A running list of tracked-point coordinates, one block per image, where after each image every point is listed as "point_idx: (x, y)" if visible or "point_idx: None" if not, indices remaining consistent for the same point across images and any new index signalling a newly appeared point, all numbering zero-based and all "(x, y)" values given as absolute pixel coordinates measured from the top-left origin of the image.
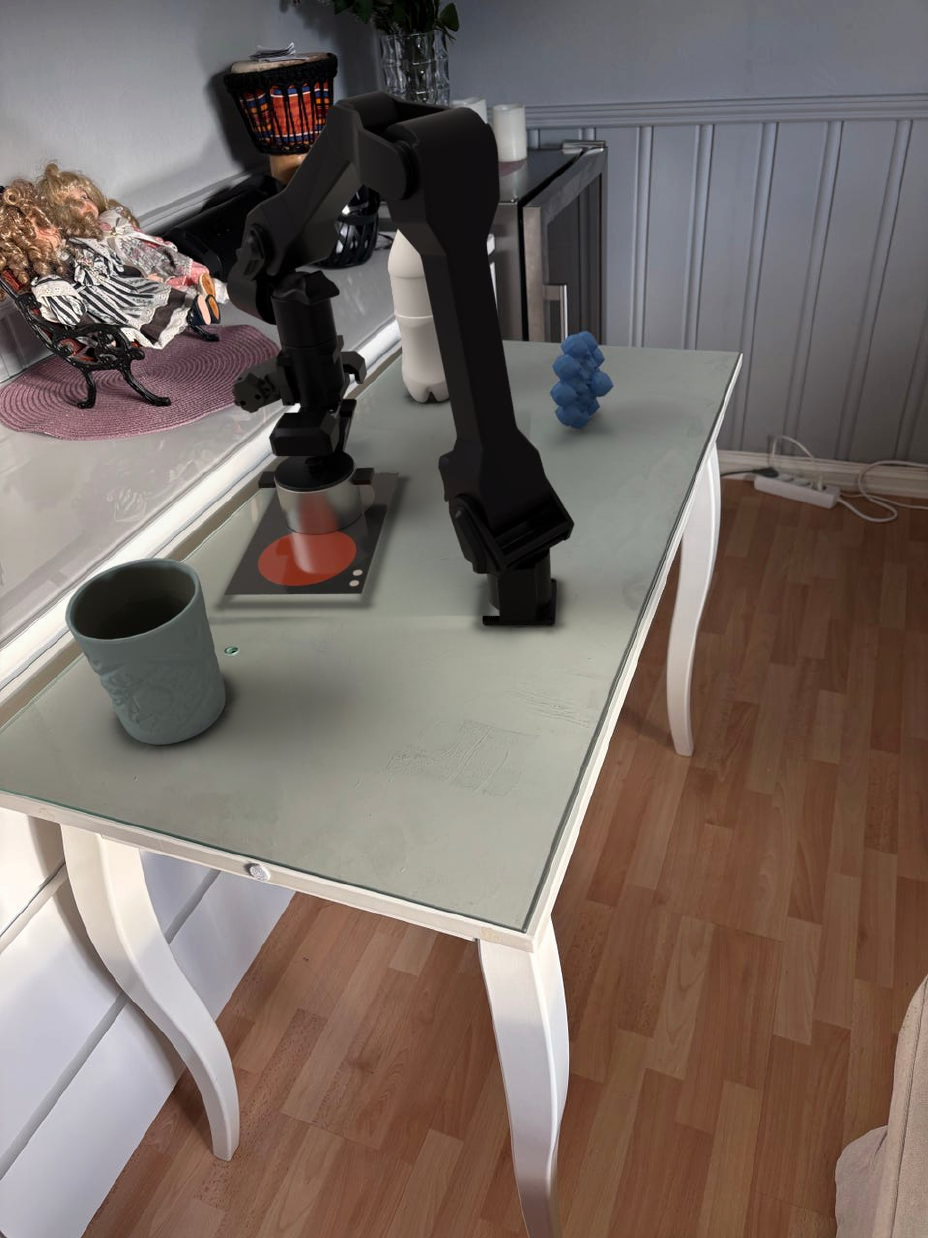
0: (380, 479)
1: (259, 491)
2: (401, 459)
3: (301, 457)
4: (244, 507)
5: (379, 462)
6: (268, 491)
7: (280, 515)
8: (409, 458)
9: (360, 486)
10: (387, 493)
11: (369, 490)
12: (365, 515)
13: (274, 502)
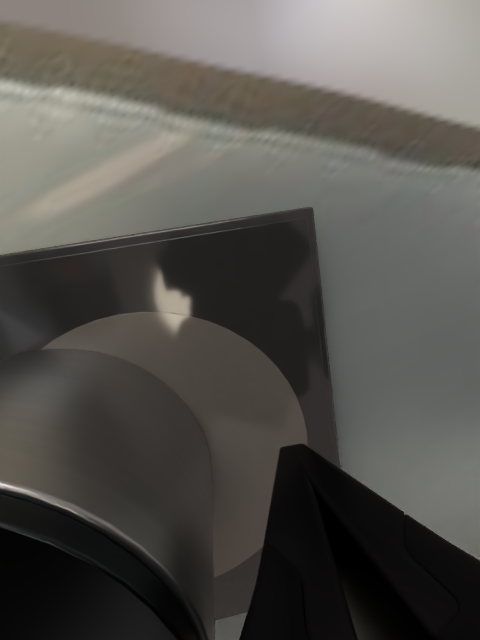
0: None
1: (238, 135)
2: (448, 512)
3: (26, 622)
4: (118, 121)
5: (434, 463)
6: (242, 173)
7: (12, 337)
8: (452, 529)
9: (254, 521)
10: (226, 605)
11: (235, 553)
12: None
13: (100, 269)
